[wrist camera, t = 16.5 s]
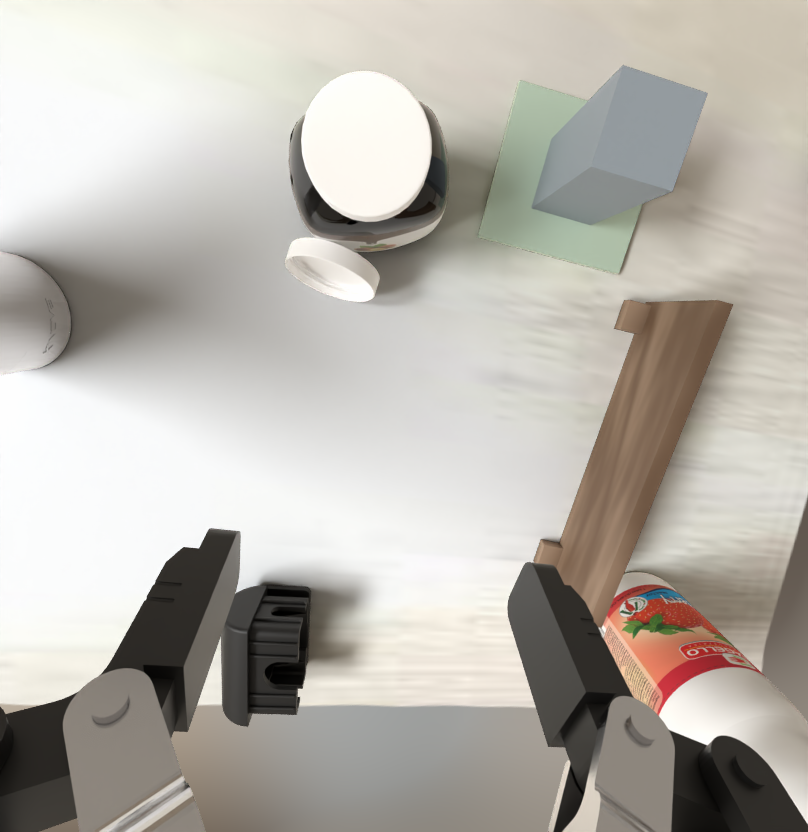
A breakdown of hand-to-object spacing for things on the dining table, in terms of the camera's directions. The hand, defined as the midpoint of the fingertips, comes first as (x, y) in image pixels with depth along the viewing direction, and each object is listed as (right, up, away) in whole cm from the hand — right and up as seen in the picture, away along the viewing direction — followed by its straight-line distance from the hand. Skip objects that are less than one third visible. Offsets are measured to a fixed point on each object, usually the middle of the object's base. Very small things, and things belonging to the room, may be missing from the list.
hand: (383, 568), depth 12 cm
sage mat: (+14, +23, +22) cm, 34 cm away
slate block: (+14, +22, +21) cm, 34 cm away
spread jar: (-3, +19, +22) cm, 29 cm away
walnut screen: (+19, +1, +27) cm, 33 cm away
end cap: (-12, -16, +31) cm, 37 cm away
